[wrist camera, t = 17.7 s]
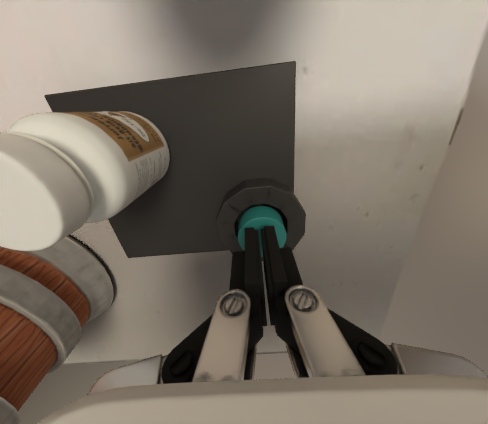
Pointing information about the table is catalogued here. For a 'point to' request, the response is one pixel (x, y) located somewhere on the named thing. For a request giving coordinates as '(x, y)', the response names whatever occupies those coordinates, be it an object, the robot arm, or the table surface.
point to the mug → (44, 314)
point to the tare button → (261, 224)
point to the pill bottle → (73, 172)
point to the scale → (207, 156)
